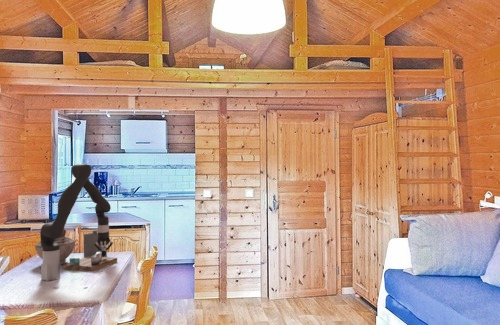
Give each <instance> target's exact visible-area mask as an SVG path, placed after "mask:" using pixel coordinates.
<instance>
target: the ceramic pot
mask: <svg viewBox="0 0 500 325" xmlns="http://www.w3.org/2000/svg"><path fill="white" fill-rule="evenodd" d="M66 233H67V228H65V227H64V229H63V232H62V234H61V236H60V237H59V238H57V239H55V241H56V242H57V243H58V244H59V246H60V266H61V265H65V264H66V259H67V258H69V256H70V255H71V254H72V253H73V251H74V248H75V245H76V244H75V242H76V241H75V240H74V239H72V238H70V237H68V236H66V235H67V234H66ZM34 248H35V251H36V254H37V255H38V256H39V258H40V259H42V260H43V249H42V246H41V240H40V241H38V242H37V243H36V244H35V246H34Z"/></svg>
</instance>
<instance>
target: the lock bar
mask: <svg viewBox="0 0 500 325" xmlns="http://www.w3.org/2000/svg"><path fill="white" fill-rule="evenodd" d="M100 259H101V252H96V254H95V255H94V256H91V265H98V264H99V261H100Z"/></svg>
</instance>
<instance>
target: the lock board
mask: <svg viewBox="0 0 500 325" xmlns="http://www.w3.org/2000/svg"><path fill="white" fill-rule="evenodd" d="M113 263H114V264H117V263H118V257H110V256H109V257H108V256H106V257H101V259H100V261H99V264H98V265H91V256H87V257H84V256H83V257H81V258H80V257H70V258H69V262H67V263H64V264H62V265H63V270H65V271H67V270H68V271H78V272H79V271H80V272H81V271H82V272H97V271H100V270H102V269H105V268H106V267H108V266H111V265H113Z"/></svg>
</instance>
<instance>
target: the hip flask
mask: <svg viewBox="0 0 500 325" xmlns="http://www.w3.org/2000/svg"><path fill="white" fill-rule="evenodd" d="M91 231H92V232H87V233H83V258H84V257H87V256H94V255H95V254H96V252H101V257H108V250H106V255H105V256H102V251H100V250H98V249H97V248H96V246H95V245H94V244H95V243H96V242H97V240H98V229H93V230H91ZM98 246H99V247H100V248H101V246H100V245H99V244H98ZM107 247H108V245H107V246H106V248H107ZM103 248H104V246H103Z"/></svg>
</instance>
